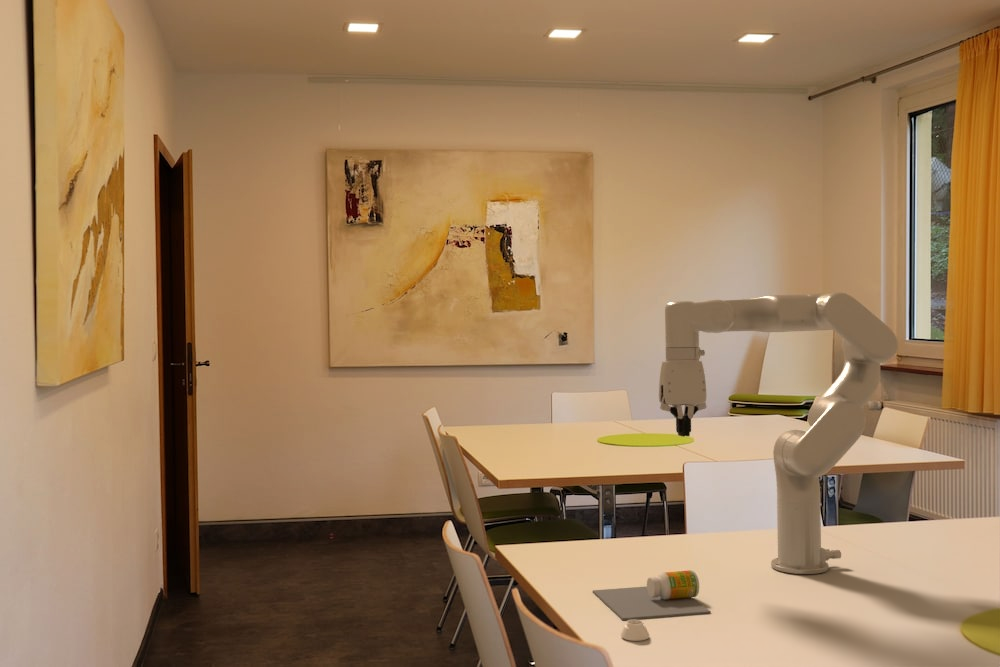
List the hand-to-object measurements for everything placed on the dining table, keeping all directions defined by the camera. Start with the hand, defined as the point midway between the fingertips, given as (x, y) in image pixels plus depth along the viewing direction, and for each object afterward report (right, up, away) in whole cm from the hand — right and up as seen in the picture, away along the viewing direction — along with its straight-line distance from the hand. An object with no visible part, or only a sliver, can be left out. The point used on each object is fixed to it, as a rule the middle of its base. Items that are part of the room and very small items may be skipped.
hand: (683, 435), depth 218 cm
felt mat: (-12, -32, -24) cm, 41 cm away
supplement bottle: (-2, -28, -21) cm, 35 cm away
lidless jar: (-18, -32, -45) cm, 58 cm away
